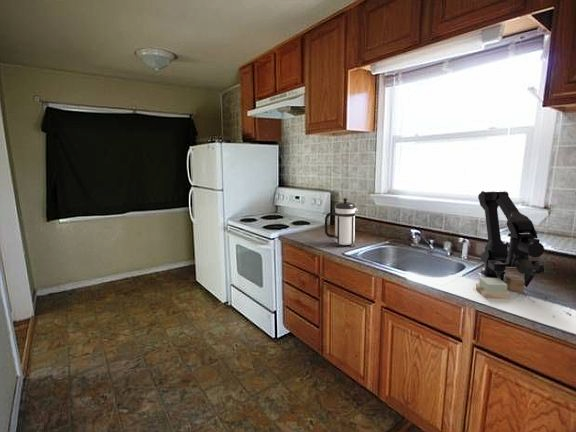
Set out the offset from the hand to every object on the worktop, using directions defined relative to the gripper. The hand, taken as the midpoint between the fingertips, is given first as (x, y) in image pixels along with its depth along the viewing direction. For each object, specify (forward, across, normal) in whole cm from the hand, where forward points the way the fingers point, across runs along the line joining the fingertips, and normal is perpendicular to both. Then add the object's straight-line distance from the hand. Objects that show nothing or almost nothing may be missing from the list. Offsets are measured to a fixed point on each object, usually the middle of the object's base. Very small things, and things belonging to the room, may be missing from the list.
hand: (513, 286), depth 131 cm
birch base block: (+2, -11, -6) cm, 13 cm away
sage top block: (-1, -11, -6) cm, 13 cm away
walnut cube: (+1, 0, 0) cm, 1 cm away
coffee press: (+1, -67, +63) cm, 92 cm away
